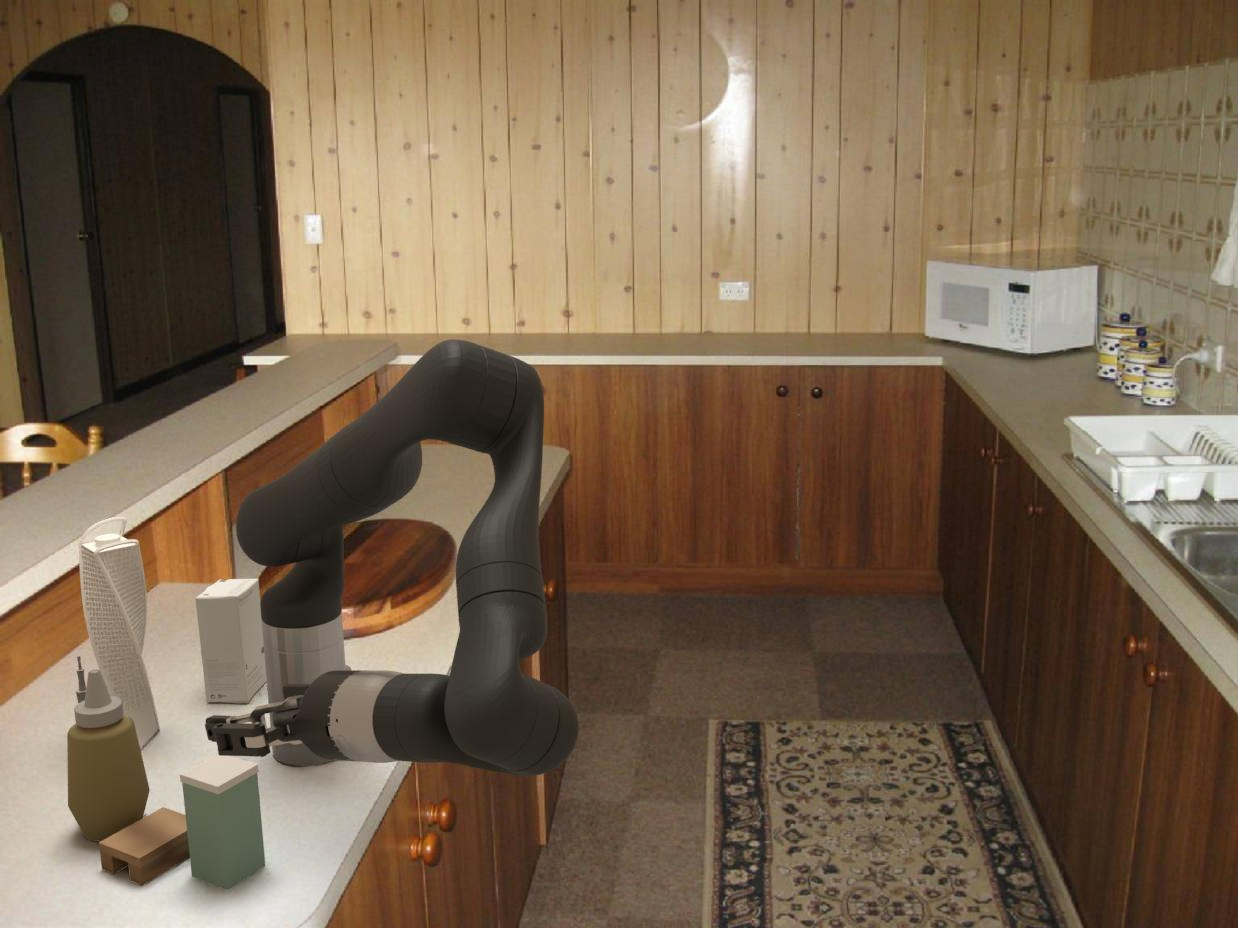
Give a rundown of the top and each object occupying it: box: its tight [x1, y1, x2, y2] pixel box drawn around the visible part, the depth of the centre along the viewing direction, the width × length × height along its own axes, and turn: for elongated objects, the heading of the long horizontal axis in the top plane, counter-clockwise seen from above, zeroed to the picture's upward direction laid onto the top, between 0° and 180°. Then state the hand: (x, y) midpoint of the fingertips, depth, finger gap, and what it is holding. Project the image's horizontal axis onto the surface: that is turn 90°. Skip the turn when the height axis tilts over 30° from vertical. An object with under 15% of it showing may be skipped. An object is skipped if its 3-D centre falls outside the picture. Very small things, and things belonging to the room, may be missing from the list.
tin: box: [179, 753, 266, 891], centre depth 123 cm, size 5×5×11 cm
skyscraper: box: [75, 516, 161, 751], centre depth 150 cm, size 8×8×28 cm
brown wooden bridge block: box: [98, 806, 190, 886], centre depth 127 cm, size 8×6×3 cm
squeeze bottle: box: [66, 669, 151, 842], centre depth 131 cm, size 8×8×18 cm
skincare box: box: [195, 578, 267, 704], centre depth 165 cm, size 8×6×15 cm
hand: (249, 711), depth 114 cm, fingers open, 8 cm apart
